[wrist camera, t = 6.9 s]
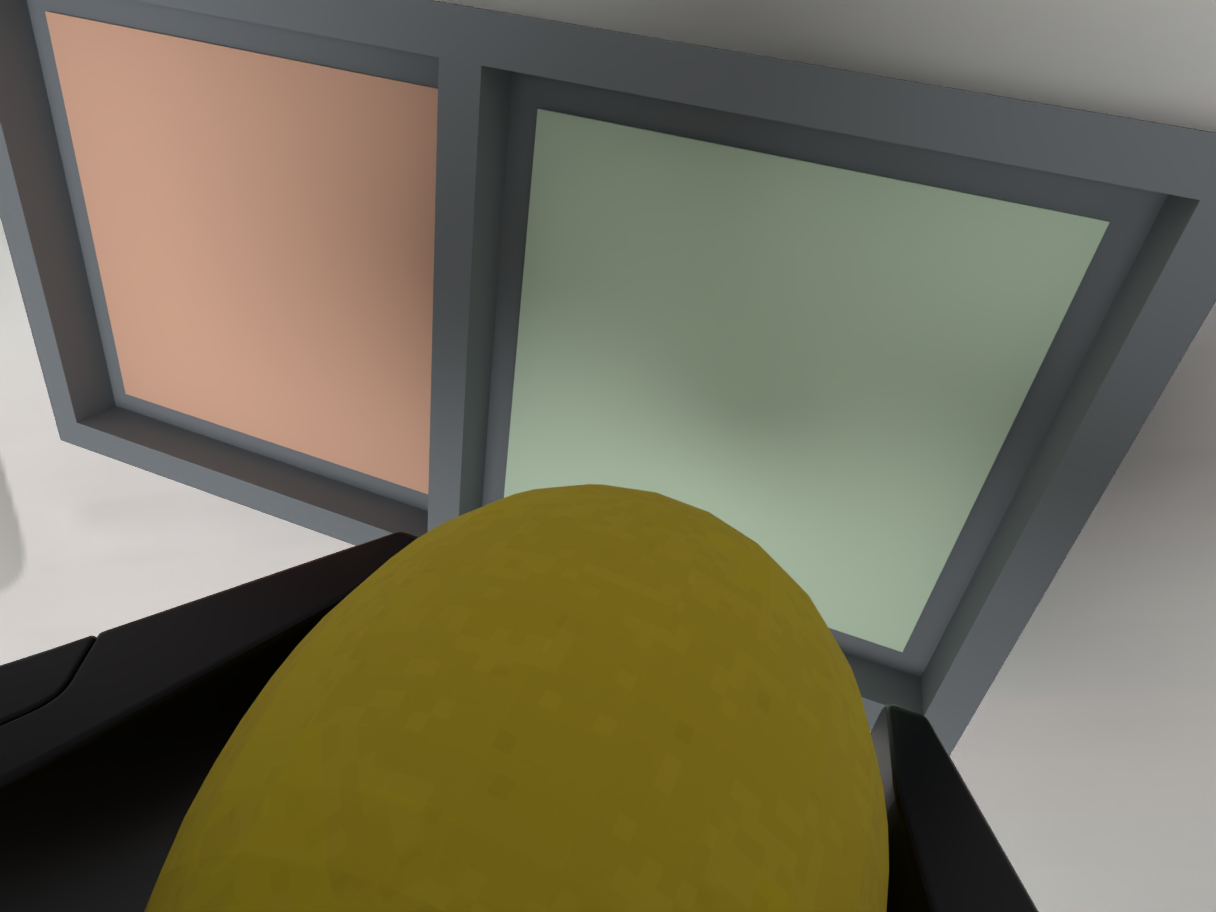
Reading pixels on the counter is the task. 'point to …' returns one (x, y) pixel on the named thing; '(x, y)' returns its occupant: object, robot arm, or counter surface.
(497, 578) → the lemon
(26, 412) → the counter surface
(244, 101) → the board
